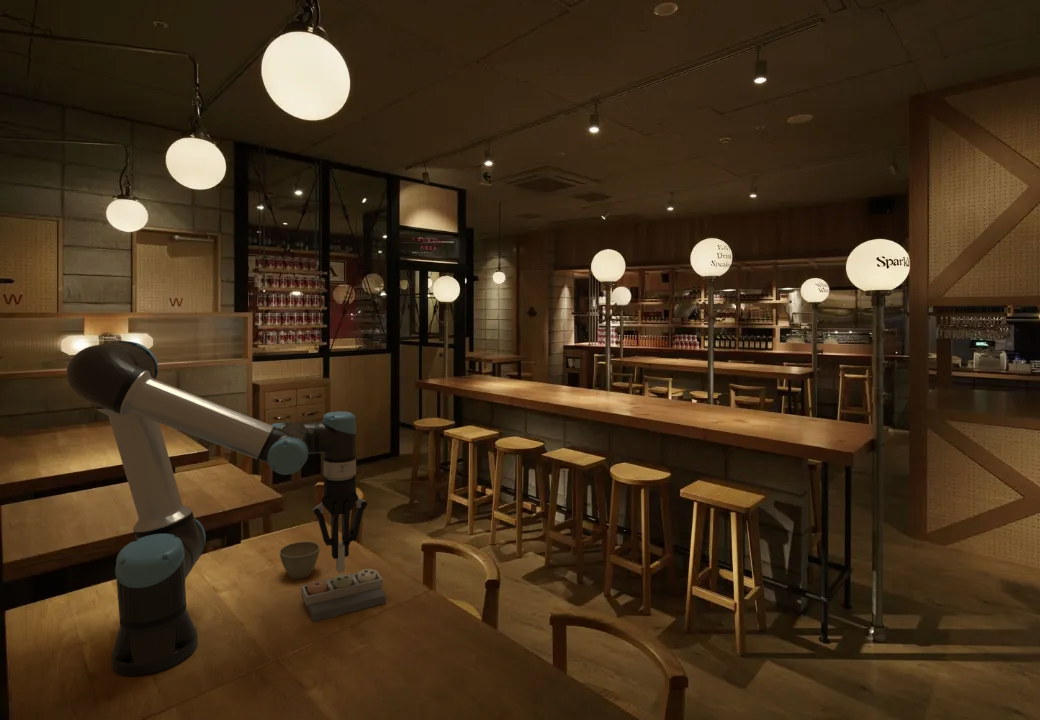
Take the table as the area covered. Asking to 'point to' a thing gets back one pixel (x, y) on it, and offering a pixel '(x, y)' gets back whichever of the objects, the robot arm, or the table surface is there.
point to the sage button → (342, 581)
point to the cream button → (366, 575)
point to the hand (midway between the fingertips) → (340, 569)
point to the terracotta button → (317, 587)
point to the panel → (344, 598)
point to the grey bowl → (299, 558)
